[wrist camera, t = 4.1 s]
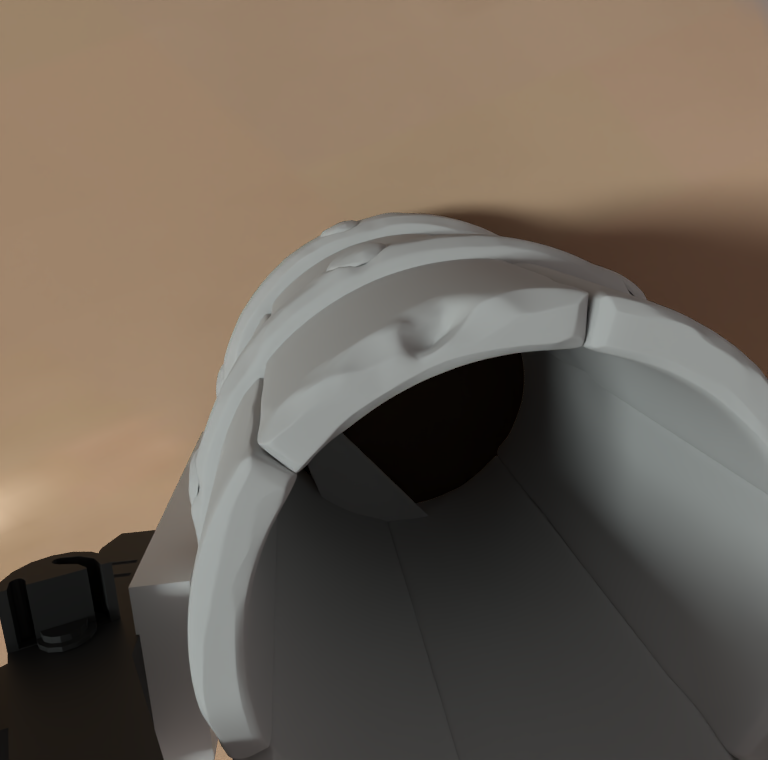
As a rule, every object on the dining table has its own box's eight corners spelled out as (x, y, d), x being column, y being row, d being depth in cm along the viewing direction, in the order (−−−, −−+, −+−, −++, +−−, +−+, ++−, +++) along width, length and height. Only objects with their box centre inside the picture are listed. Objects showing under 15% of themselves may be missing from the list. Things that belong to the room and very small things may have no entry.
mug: (475, 149, 15) (1096, -100, 3) (661, 578, 18) (1328, 1249, 6) (163, 311, 15) (-346, 645, 3) (401, 711, 18) (580, 1625, 6)
